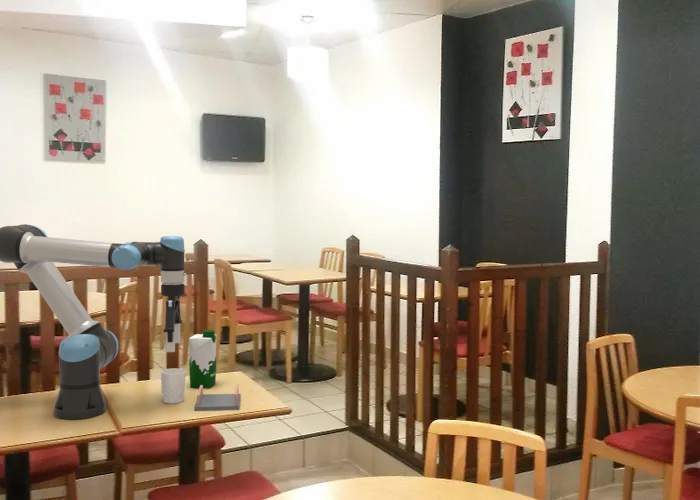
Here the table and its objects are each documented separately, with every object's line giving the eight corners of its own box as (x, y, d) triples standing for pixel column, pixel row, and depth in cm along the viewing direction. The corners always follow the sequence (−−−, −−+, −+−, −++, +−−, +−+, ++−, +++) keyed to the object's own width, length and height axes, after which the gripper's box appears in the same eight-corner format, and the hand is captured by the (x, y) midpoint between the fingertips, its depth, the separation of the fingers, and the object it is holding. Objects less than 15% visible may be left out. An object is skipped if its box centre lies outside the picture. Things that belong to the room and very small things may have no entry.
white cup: (181, 404, 222) (181, 374, 221) (157, 404, 222) (157, 373, 221) (188, 397, 229) (188, 368, 229) (165, 397, 230) (164, 368, 229)
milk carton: (211, 389, 240) (211, 333, 238) (186, 388, 240) (186, 332, 239) (218, 382, 248) (218, 328, 247) (194, 381, 249) (194, 327, 248)
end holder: (194, 410, 215) (194, 396, 215) (198, 397, 229) (198, 384, 229) (239, 409, 217) (239, 395, 217) (240, 397, 231) (240, 383, 230)
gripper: (179, 288, 211) (180, 355, 212) (188, 278, 236) (189, 339, 237) (154, 288, 210) (155, 356, 211) (166, 278, 235) (167, 339, 236)
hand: (173, 347), depth 224 cm, fingers open, 13 cm apart
